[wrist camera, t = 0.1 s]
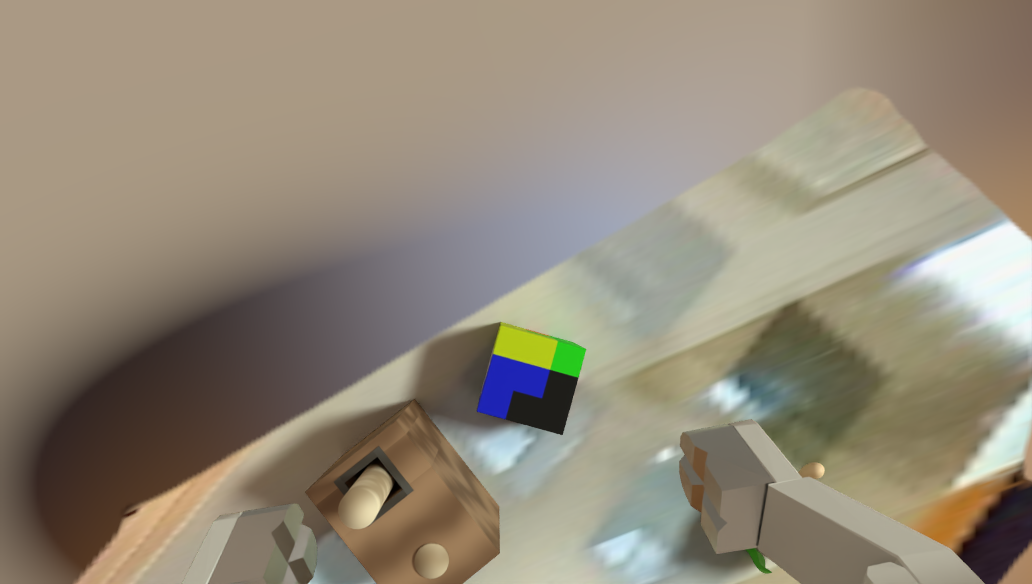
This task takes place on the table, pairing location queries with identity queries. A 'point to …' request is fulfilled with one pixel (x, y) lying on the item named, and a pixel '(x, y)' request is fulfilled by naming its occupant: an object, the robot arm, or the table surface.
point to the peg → (366, 496)
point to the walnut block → (414, 506)
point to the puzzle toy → (531, 378)
